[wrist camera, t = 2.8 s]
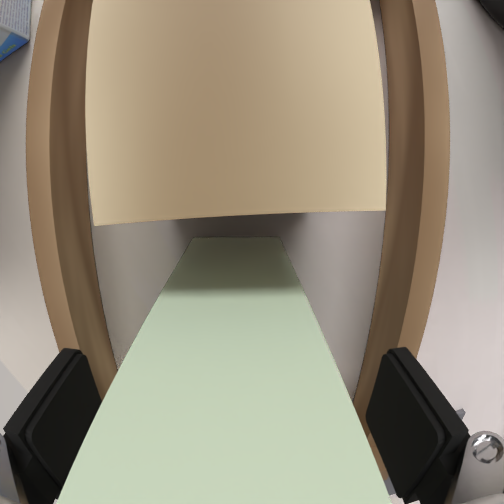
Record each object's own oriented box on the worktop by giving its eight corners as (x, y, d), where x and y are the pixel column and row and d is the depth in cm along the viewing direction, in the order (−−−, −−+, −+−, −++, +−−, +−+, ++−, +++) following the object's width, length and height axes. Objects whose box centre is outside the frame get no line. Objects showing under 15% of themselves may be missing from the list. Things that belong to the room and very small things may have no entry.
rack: (385, -60, 7) (421, -104, 3) (363, 423, 14) (386, 479, 10) (95, -59, 7) (61, -101, 3) (117, 424, 14) (96, 480, 10)
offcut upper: (316, -22, 6) (346, -87, 3) (333, 190, 7) (385, 210, 4) (145, -13, 6) (109, -73, 3) (147, 200, 7) (93, 226, 4)
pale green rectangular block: (279, 236, 11) (403, 534, 1) (271, 405, 13) (295, 610, 4) (193, 237, 11) (48, 523, 1) (207, 406, 13) (188, 610, 4)
